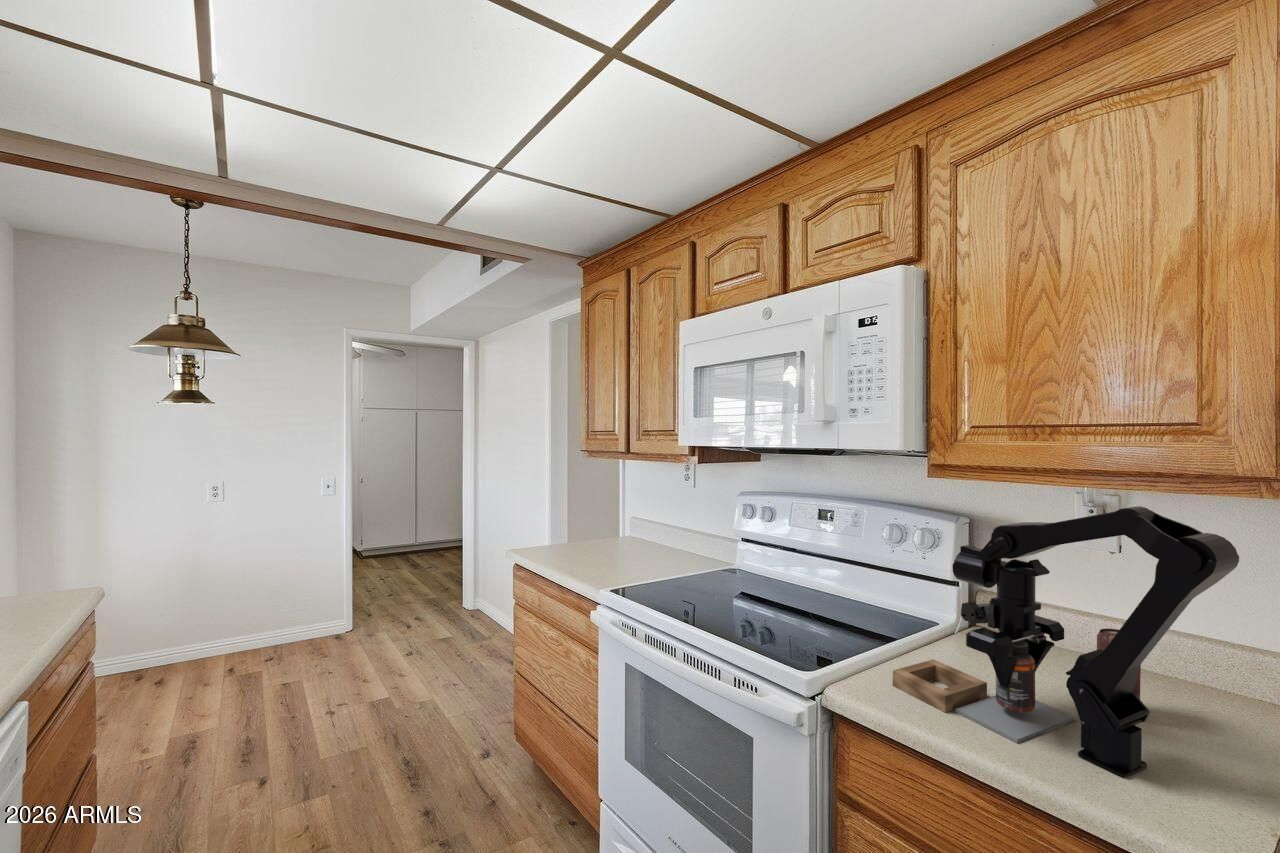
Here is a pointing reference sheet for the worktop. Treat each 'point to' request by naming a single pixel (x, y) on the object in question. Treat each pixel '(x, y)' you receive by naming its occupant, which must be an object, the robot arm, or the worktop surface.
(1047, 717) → the grey rubber mat
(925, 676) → the walnut holder
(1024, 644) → the supplement bottle
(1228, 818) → the worktop surface
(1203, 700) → the worktop surface
